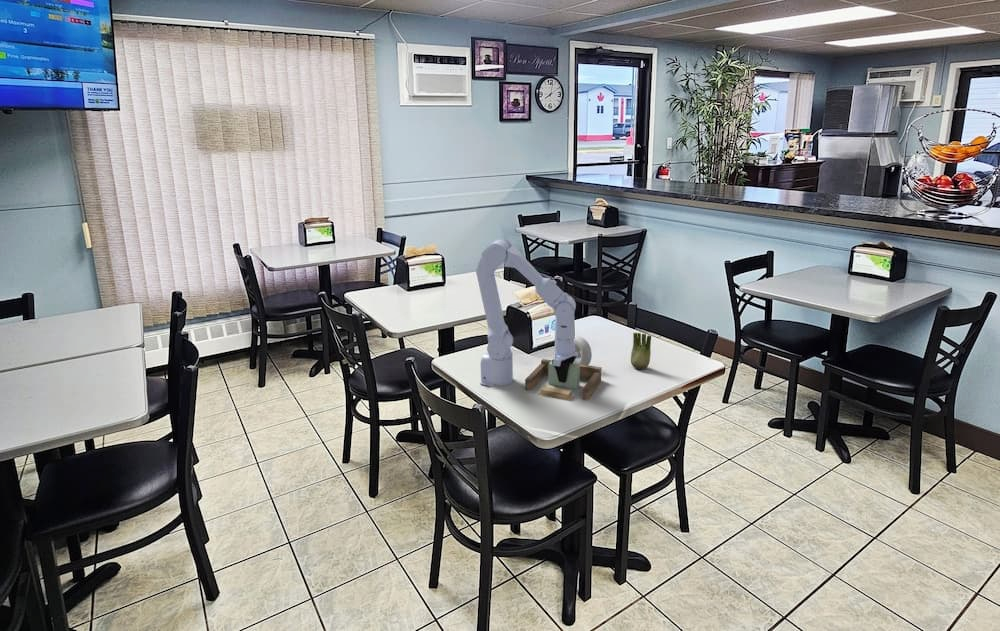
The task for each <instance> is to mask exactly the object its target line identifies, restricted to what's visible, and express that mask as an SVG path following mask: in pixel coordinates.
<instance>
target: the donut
mask: <svg viewBox="0 0 1000 631" xmlns="http://www.w3.org/2000/svg"><path fill="white" fill-rule="evenodd" d="M574 344H575V352H578V355H577V356H576V359H575V360H574V363H575V364H582V365H589V366H590V364H591V360H592V353H593V352H592V348H591V346H590V344H589V342H588V341H587V340H586V339H585V338H583V337H578V336H577V337H576V338H575V337H574Z"/></svg>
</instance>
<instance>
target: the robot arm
mask: <svg viewBox="0 0 1000 631" xmlns="http://www.w3.org/2000/svg"><path fill="white" fill-rule="evenodd" d="M480 256H481V257H480V259H479V261H478V264H477V267H476V271H475V273H476V277H477V282H478V287H479V292H480V295H481V296H480V297H481V300H482V305H483V310H484V314H485V320H486V323H487V327H488V329H487V330H488V331H487V340H488V341H487V342H488V343H487V346H486V350H487V352H486V353H483V354H482V357H481V360H480V382H479V384H480V385H483V386H489V387H493V386H494V385H495V386H506V385H509V384H512V383H513V380H514V374H513V373H514V370H513V368H514V367H513V362H514V360H513V352H512V351H511V348H512V346H513V344H514V337H513V335H512V334H511V332H510V330H509V327H508V325H507V324H506V323H505V319H504V318H505V317H504V313H503V309H502V304H501V300H500V295H499V294H500V293H499V290H498V286H497V281H496V280H497V279H496V276H495V275H496V274H495V272H496V270H498V269H499V267H500V266H501V265H503V263H504V265H503V267H506V268H512V269H513V268H514V269H515V270H517V271H518V272H519V273H520V274H521V275H522V276H524V278H526V279H527V280H528V281H529V282H530V283H531V284H532V285H533V286H535V288H534V289H535V293H536V294H537V295H538V296H539V297H540V298H541V299H542V300H543V301H544V302H545V303H546V304H547V305H548V307H550V308H551V309H553V315H554V316H555V321H554V322H555V323H554V350H553V359H551V360H552V364H553V366H554V367H555V370H556V373H557V377H558V381H559V382H563V383H565V382H566V380H567V375H568V370H569V367H570V365H571V364H573V363H574V360H575V359H576V356H577V355H578V352H575V344H574V339H575V334H576V333H575V332H576V331H575V330H576V329H575V328H576V327H575V326H576V324H575V323H576V322H575V319H576V318H575V312H576V311H575V310H576V309H577V308H576V306H577V303H576V301H575V299H574V297H573V296H571V295H569V294H568V293H567V292H564V291H563V290H562V289H561V288H560V287H559V285H557V283H558V282H557V281H556V280H555V279H553V280H552V279H551V278H550V277H543V276H542V274H541V273H540V272H538V271H537V269H536V268H535V267H534V266H533V265H532V263H530V262H529V261H528V260H527V259H526V257H525V256H524V255H523V254H522V253H521V252H520V250H519V249H518V248H517V247H516V246H515V245H513V244H512V243H511V242H510V241H509V240H508V239H506V238H501V237H500V238H496V239H495V240H494V241H493V242H492V243H491V244H489V245H488V246H486V248H485V249H484V250H483V251H482V253H481V255H480Z"/></svg>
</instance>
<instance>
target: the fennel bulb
mask: <svg viewBox="0 0 1000 631" xmlns="http://www.w3.org/2000/svg"><path fill="white" fill-rule="evenodd" d="M632 334H633V337H632V338H633V340H632V342H633V343H632V349H631V353H630V354H631V355H630V365H632V367H633V368H634V369H637V370H646V369H648V366H649V365H650V362H651V354H652V353H651V352H652V351H651V344H652V343H651V342H652V335H651V334H647V333H642V334H641V332H633V333H632Z"/></svg>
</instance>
